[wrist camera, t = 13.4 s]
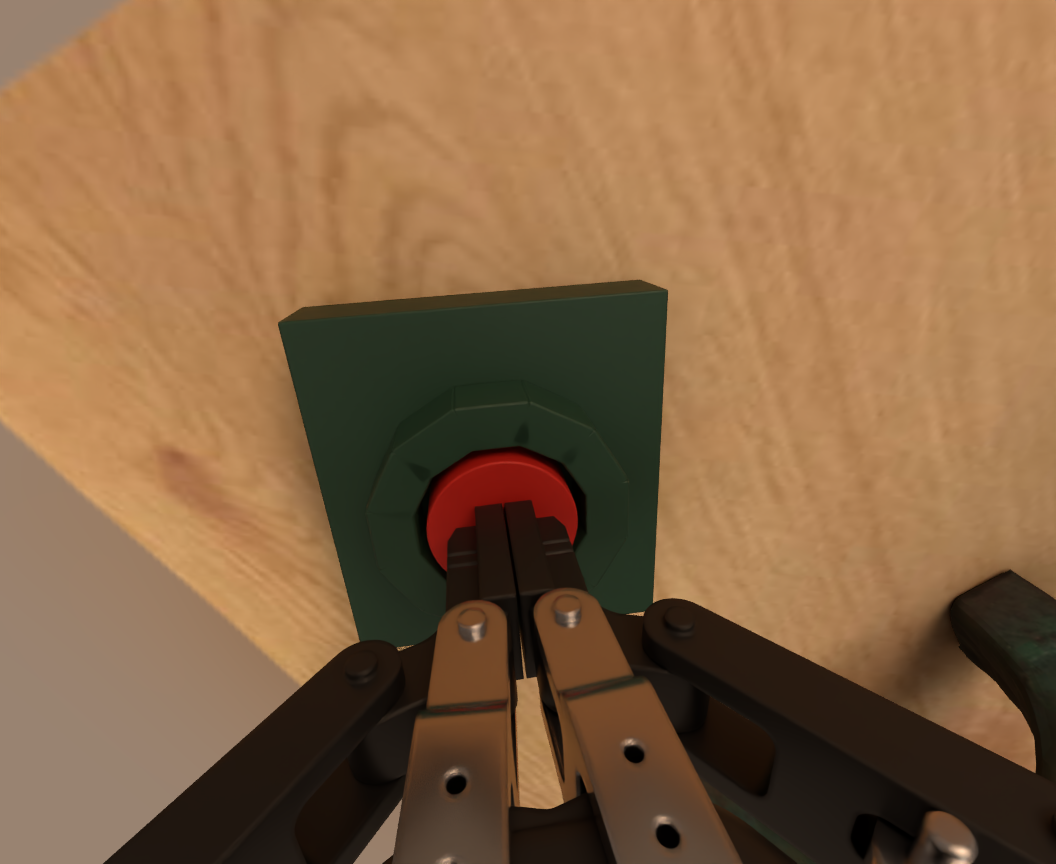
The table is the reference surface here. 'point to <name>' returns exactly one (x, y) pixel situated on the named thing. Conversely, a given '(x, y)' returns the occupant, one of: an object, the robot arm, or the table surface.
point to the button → (496, 492)
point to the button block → (481, 428)
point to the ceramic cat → (990, 668)
